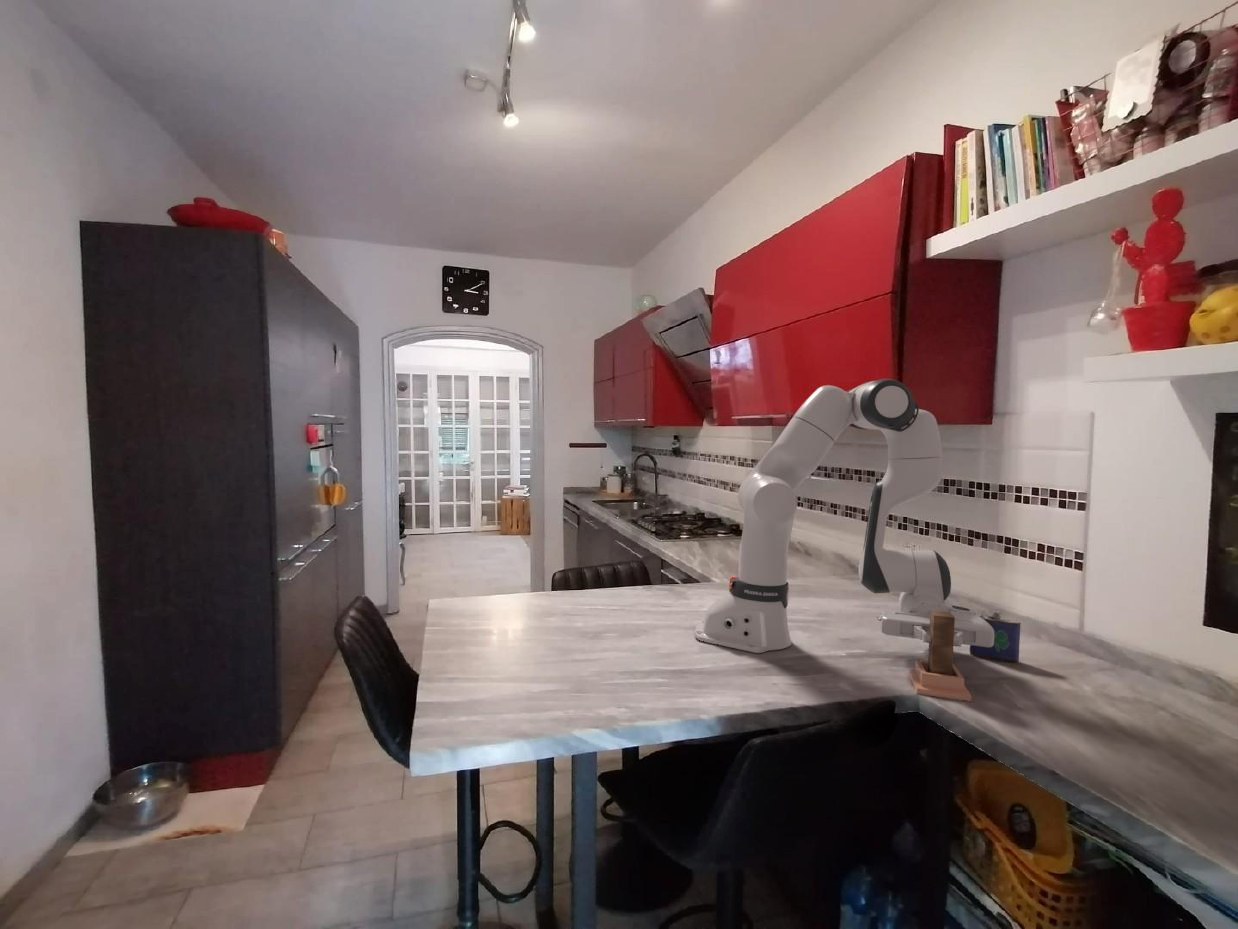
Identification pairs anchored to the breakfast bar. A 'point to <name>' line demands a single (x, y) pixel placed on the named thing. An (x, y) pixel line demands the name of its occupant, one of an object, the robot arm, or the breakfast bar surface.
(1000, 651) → the flask
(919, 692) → the terracotta holder
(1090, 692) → the breakfast bar surface
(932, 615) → the walnut stick
